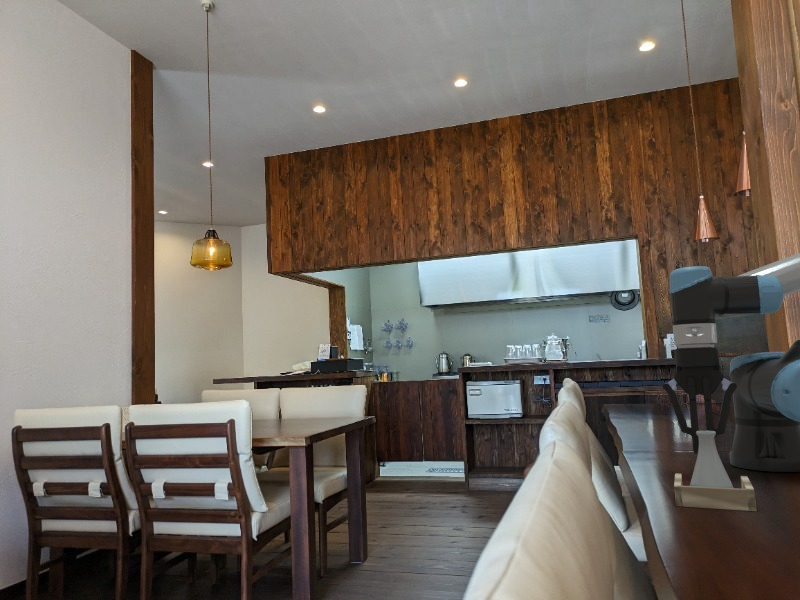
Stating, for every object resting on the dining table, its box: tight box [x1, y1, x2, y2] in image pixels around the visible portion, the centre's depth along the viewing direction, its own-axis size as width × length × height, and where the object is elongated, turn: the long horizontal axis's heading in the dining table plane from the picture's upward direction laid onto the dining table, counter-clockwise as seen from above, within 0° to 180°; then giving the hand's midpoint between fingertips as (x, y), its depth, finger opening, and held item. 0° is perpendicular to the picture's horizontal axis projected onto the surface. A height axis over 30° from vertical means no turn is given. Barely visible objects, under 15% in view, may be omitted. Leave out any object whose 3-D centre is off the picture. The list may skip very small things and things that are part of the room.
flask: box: [689, 430, 735, 488], centre depth 103 cm, size 7×7×10 cm
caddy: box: [673, 473, 758, 512], centre depth 94 cm, size 12×11×3 cm
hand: (706, 471), depth 109 cm, fingers closed
